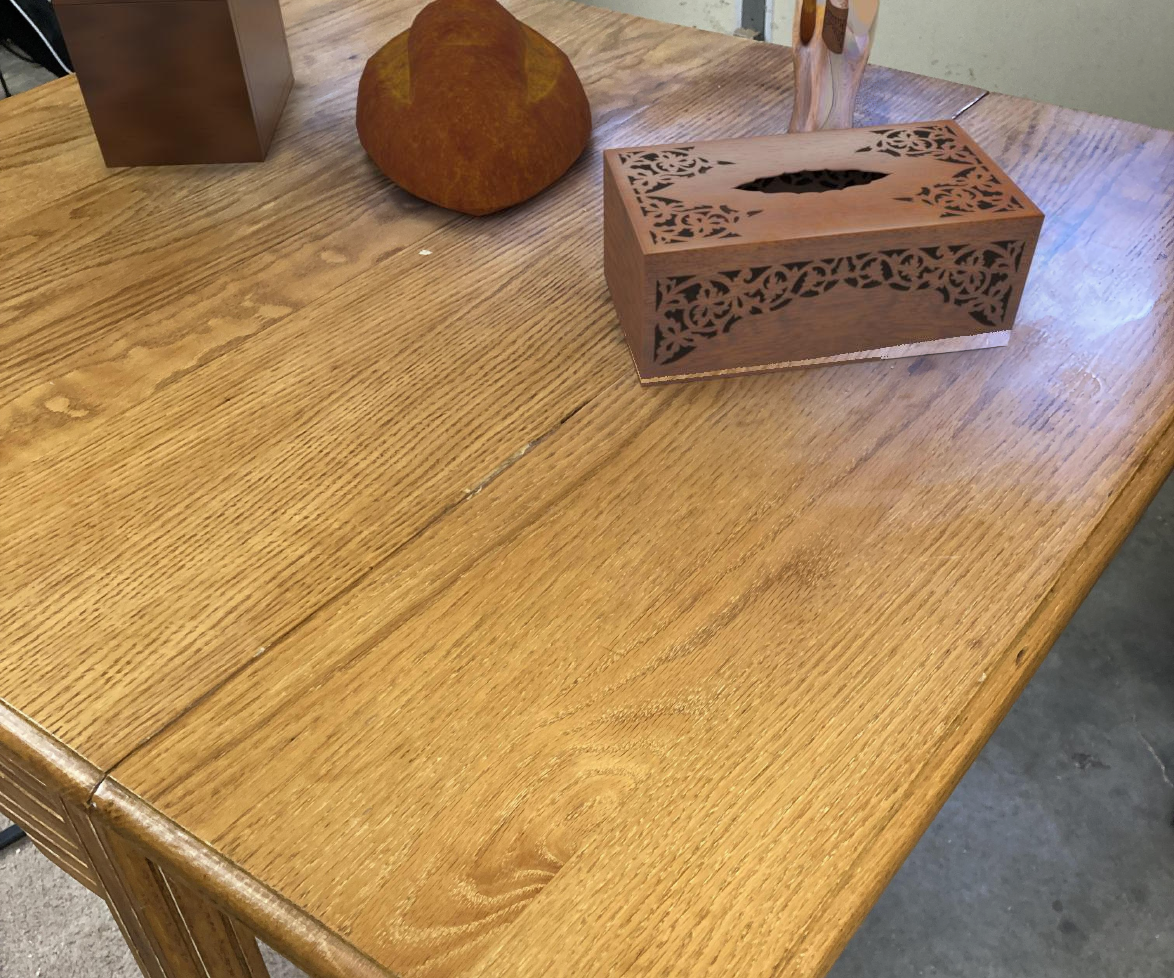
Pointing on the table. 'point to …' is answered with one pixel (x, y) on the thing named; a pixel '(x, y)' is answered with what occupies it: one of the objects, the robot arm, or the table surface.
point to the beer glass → (829, 60)
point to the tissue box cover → (810, 246)
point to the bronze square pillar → (179, 77)
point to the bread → (471, 108)
